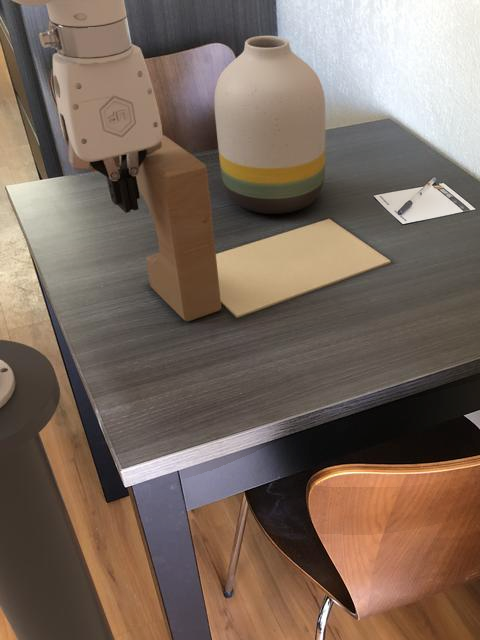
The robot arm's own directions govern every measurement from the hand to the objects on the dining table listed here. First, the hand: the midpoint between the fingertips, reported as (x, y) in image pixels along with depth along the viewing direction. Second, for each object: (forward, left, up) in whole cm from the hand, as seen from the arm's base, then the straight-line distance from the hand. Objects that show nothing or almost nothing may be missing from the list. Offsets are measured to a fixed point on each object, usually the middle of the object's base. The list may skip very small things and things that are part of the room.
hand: (127, 206), depth 87 cm
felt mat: (+22, 0, -15) cm, 27 cm away
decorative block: (+6, 0, -15) cm, 16 cm away
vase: (+32, +19, -15) cm, 40 cm away
